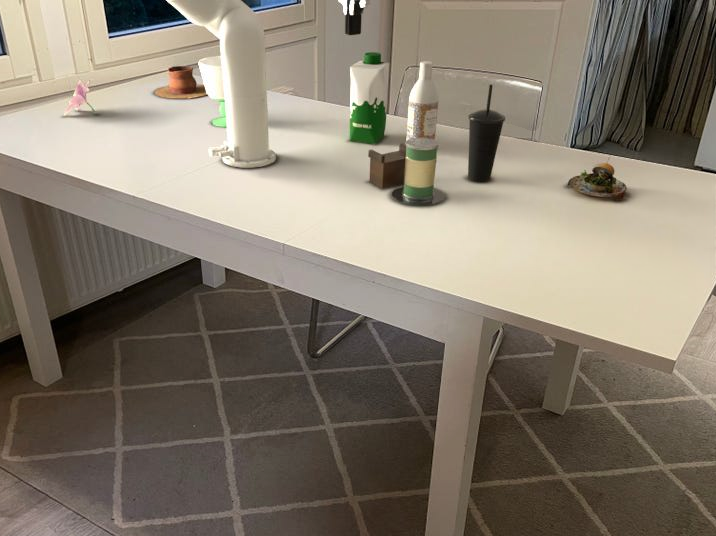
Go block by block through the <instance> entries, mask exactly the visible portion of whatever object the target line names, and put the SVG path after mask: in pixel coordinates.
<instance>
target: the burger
mask: <svg viewBox="0 0 716 536" xmlns="http://www.w3.org/2000/svg"><path fill="white" fill-rule="evenodd" d="M610 158H611V156H608V160H607V161H606V162H602V163H597V164H595V165H594V166H593V167H592V169H591V172H592V173H591V172H590V173H588V172H586V171H587V170H586V169H584V171H583V172H582V171H581V172H580V175H575V176H573V177H571V178H569V179H568V181H567V187H569V186H571V187H572V189H574V191H577V192H578V193H581V194H584V195H588V196H592V197H600V198H603V197H604V198H605V197H608V198H609V197H614V196H617V197H616V201H617V202H620V201H622V200H624V198H625V195H627V189H628V188H627V185H626V184H625V183H624V182H623V181H621V180H619V179H617V177H615V176H614V175H615V169H614V166H613V165H611V164H610V163H608V162H609V160H610Z"/></svg>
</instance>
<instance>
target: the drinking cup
mask: <svg viewBox="0 0 716 536" xmlns="http://www.w3.org/2000/svg"><path fill="white" fill-rule="evenodd" d="M493 87H494V85H493V84H489V85H488V93H487V101H486V108H485V109H479V110H476V111H474V112H470V113H469V114H468V120H469V127H468V130H469V131H468V158H467V160H468V161H467V179H468V180H469V182H472V183H477V184H478V183H479V184H483V183H488V182H489V181H490V180H491V176H492V172H493V169H494V164H495V159H496V157H497V156H496V155H497V151H498V147H499V143H500V138H501V134H502V129H503V126H504V122H505V121H506V116H505V115H504V114H503V113H500V112H498V111H497V110H493V109H491V101H492V94H493Z"/></svg>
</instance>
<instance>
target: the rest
mask: <svg viewBox="0 0 716 536" xmlns="http://www.w3.org/2000/svg"><path fill="white" fill-rule="evenodd" d="M368 158H369V178H368V179H369V180H368V182H369V183H370V184H372V185H374V186H376V187H378V188H379V189H382V190H385V189H389V188H393V187H398V186H401V185H404V173H405V159H406V143H399V147H398V150H395V151H390V152H386V153H380V152H377V151H375V150H374V149H368Z"/></svg>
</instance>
